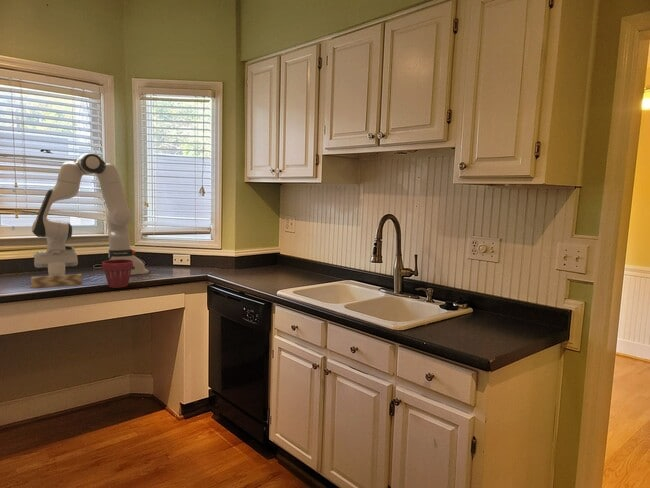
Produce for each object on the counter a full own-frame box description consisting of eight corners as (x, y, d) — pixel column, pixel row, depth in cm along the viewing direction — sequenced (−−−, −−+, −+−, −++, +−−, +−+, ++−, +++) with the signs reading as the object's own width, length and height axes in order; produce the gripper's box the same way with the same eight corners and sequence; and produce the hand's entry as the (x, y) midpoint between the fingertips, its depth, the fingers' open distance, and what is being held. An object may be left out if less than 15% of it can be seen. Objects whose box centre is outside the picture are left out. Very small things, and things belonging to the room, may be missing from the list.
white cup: (48, 284, 237) (47, 265, 235) (48, 281, 243) (47, 262, 242) (65, 283, 240) (65, 264, 239) (65, 280, 247) (65, 261, 246)
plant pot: (102, 289, 228) (101, 263, 227) (103, 284, 241) (102, 259, 239) (133, 287, 234) (133, 262, 232) (132, 282, 246) (132, 258, 245)
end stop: (81, 282, 243) (81, 273, 243) (82, 284, 239) (81, 274, 239) (32, 285, 232) (31, 276, 232) (31, 287, 228) (31, 277, 228)
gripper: (33, 248, 245) (33, 269, 237) (77, 247, 255) (78, 267, 247) (34, 255, 249) (33, 276, 242) (77, 254, 259) (78, 274, 252)
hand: (56, 272), depth 245 cm, fingers closed, pressing on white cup
